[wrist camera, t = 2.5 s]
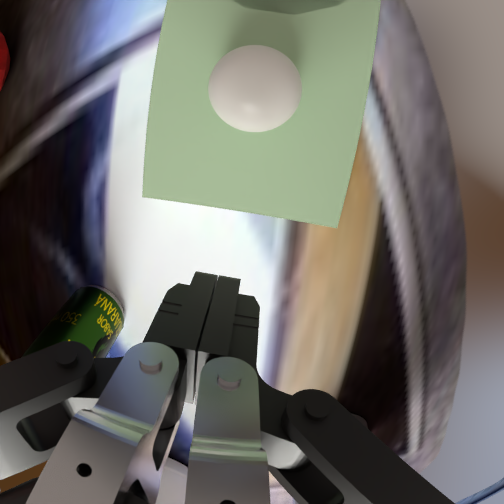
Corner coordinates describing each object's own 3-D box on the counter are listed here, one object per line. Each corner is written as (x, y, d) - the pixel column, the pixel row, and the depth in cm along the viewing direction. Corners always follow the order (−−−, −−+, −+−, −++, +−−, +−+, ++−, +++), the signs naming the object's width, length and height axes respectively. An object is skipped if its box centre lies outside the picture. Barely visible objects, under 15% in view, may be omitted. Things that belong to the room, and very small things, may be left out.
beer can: (98, 334, 27) (42, 429, 16) (67, 290, 25) (-6, 379, 14) (138, 323, 26) (83, 432, 15) (105, 274, 24) (26, 375, 13)
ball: (314, 101, 15) (328, 98, 11) (248, 145, 17) (241, 156, 13) (265, 39, 14) (264, 17, 10) (200, 84, 15) (178, 77, 11)
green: (329, 214, 21) (337, 228, 18) (155, 186, 20) (142, 196, 18) (375, -79, 10) (385, -93, 8) (211, -102, 10) (206, -119, 8)
